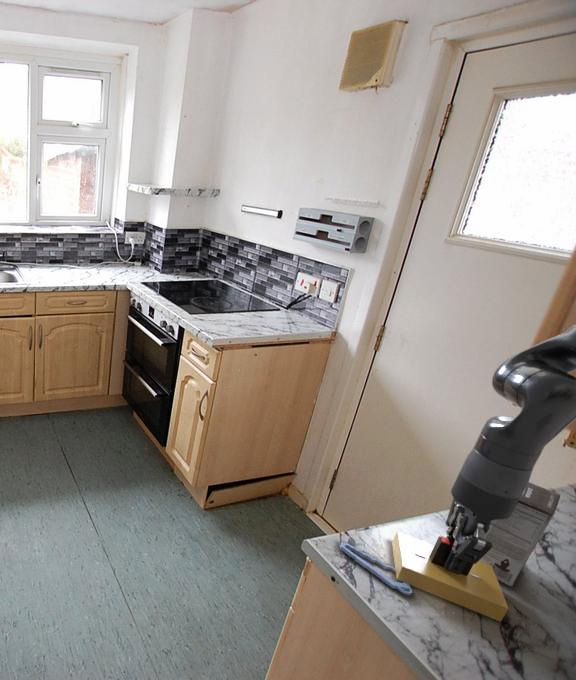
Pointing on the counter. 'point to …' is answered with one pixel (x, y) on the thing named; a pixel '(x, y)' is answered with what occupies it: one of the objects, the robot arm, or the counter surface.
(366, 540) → the counter surface
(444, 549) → the lock knob
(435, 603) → the counter surface
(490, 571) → the tan flat wooden block
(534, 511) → the coffee box
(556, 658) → the counter surface
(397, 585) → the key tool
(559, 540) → the counter surface
